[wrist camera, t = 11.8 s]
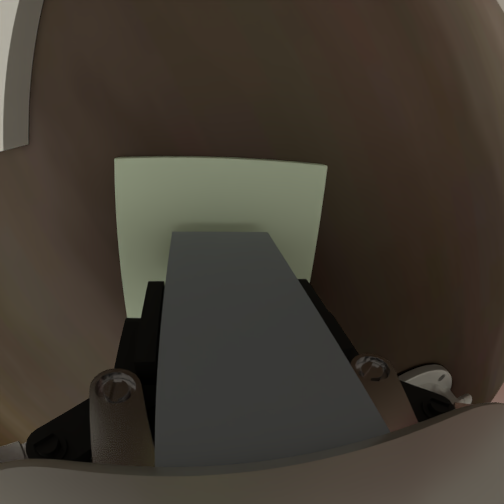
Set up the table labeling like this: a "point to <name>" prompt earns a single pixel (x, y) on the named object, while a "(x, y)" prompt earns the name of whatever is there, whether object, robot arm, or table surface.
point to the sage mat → (211, 210)
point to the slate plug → (248, 360)
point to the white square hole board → (16, 68)
